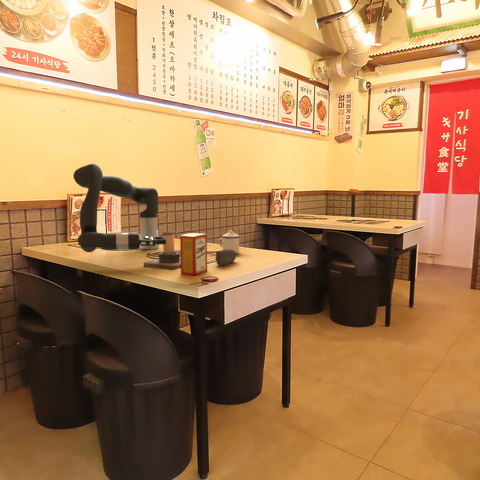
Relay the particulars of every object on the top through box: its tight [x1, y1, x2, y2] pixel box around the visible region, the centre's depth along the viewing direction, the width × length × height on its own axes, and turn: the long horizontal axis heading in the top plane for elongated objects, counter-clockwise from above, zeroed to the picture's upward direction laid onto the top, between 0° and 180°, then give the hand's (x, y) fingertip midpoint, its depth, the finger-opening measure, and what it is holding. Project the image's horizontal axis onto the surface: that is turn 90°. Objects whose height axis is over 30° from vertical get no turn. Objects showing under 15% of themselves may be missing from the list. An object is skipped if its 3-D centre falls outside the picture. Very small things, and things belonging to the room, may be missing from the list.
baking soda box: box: [179, 232, 208, 277], centre depth 161 cm, size 10×6×16 cm
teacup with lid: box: [218, 229, 240, 254], centre depth 208 cm, size 12×9×12 cm
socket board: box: [143, 251, 181, 271], centre depth 178 cm, size 16×16×5 cm
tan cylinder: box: [162, 231, 175, 255], centre depth 177 cm, size 5×5×13 cm
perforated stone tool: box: [214, 249, 237, 267], centre depth 179 cm, size 15×5×7 cm, turn 148°
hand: (165, 240), depth 176 cm, fingers open, 8 cm apart
